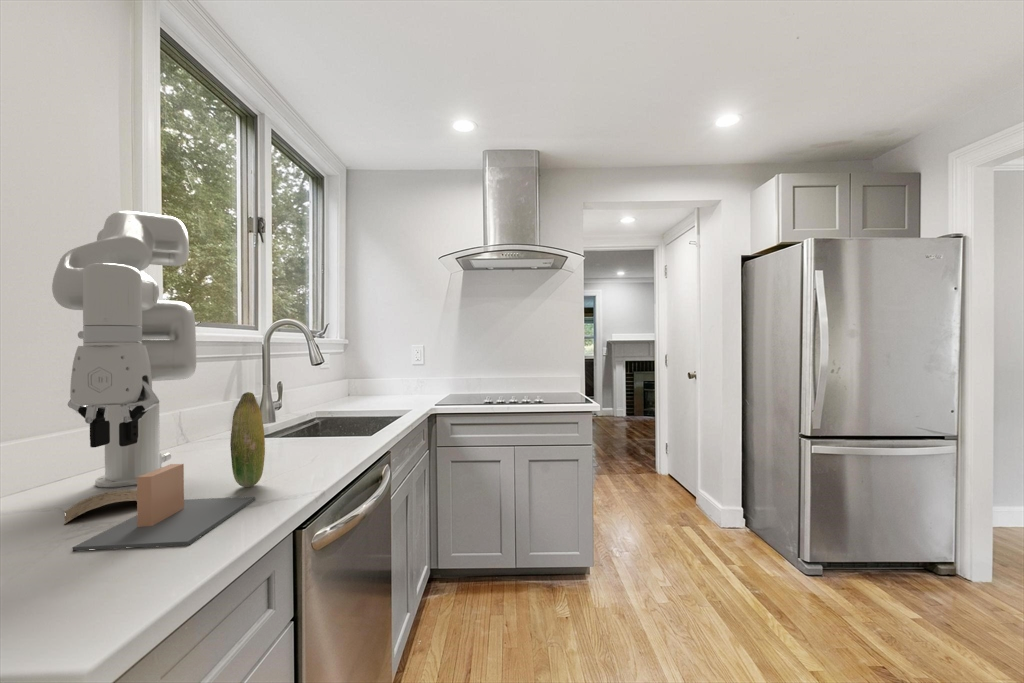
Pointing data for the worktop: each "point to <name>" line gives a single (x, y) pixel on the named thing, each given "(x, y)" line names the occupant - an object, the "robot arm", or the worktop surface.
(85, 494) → the worktop surface
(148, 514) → the block
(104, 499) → the cork arch piece
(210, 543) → the worktop surface
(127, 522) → the mat
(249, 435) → the vegetable
